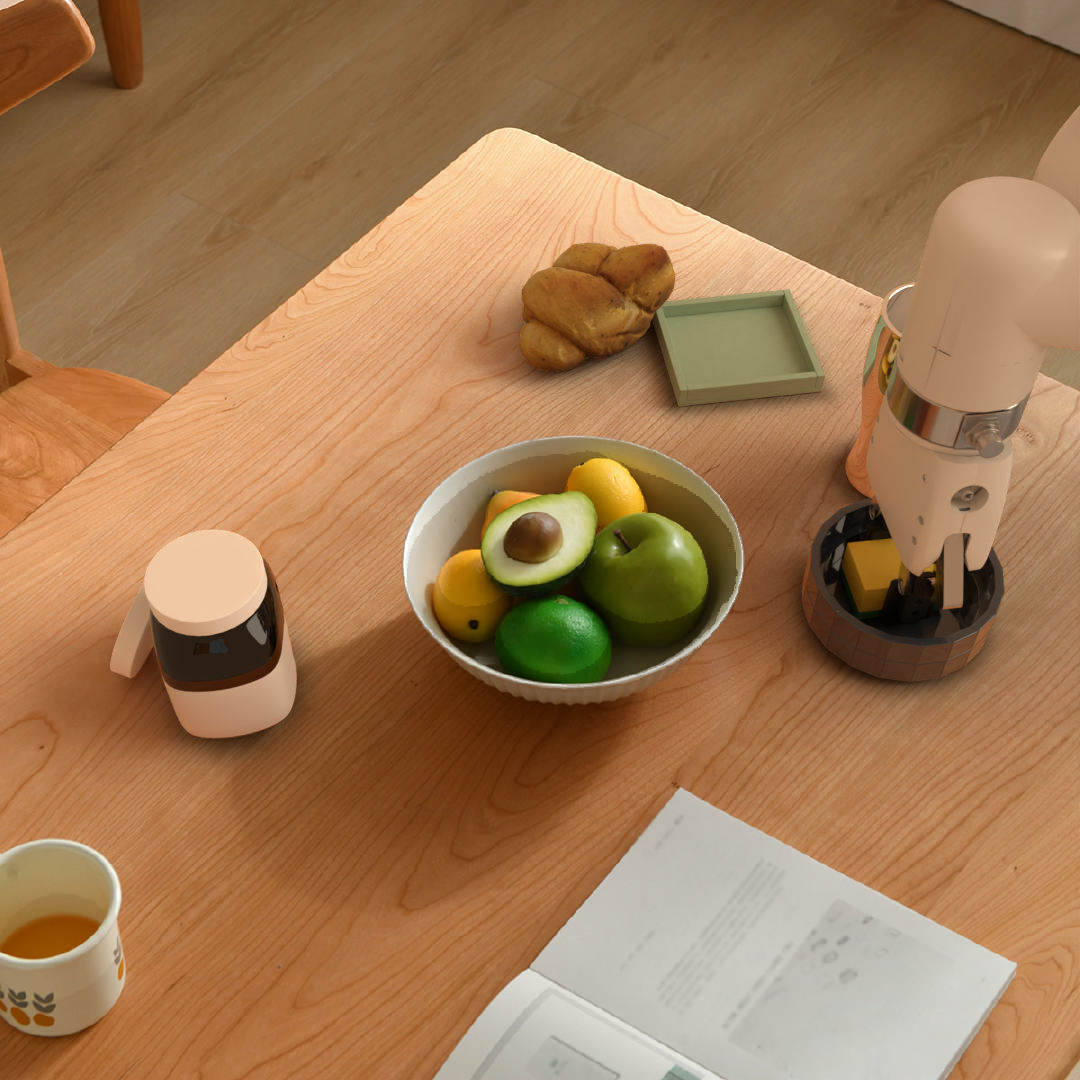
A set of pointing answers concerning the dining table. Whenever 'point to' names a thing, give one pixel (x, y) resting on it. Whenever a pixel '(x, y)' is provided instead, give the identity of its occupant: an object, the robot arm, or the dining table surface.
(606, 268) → the bread roll
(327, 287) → the dining table surface
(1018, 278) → the robot arm
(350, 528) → the dining table surface
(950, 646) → the bowl
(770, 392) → the sponge tray
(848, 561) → the sponge
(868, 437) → the beer glass
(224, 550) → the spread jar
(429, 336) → the dining table surface
